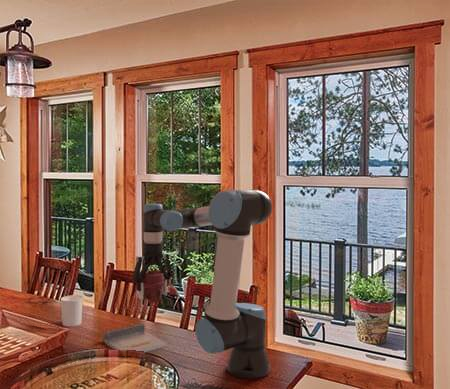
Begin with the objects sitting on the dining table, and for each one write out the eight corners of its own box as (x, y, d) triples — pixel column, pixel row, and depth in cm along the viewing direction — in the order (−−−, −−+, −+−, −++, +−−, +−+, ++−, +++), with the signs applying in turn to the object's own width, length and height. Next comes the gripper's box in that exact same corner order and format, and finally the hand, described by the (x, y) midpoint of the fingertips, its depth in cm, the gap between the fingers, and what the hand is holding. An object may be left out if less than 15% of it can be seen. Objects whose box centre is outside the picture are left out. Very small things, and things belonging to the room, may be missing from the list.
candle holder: (83, 325, 201) (83, 299, 201) (60, 328, 198) (60, 301, 197) (82, 319, 211) (82, 294, 210) (60, 321, 207) (60, 296, 207)
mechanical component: (168, 298, 183) (159, 305, 173) (146, 297, 185) (136, 303, 175) (169, 269, 182) (159, 274, 173) (146, 267, 185) (136, 272, 175)
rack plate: (166, 346, 178) (166, 336, 178) (125, 357, 167) (125, 347, 166) (142, 332, 193) (142, 323, 193) (103, 341, 182) (103, 332, 182)
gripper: (172, 238, 188) (172, 290, 189) (122, 243, 174) (122, 299, 175) (181, 240, 182) (181, 294, 183) (131, 245, 168) (131, 303, 169)
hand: (152, 296), depth 179 cm, fingers closed on mechanical component, 10 cm apart
